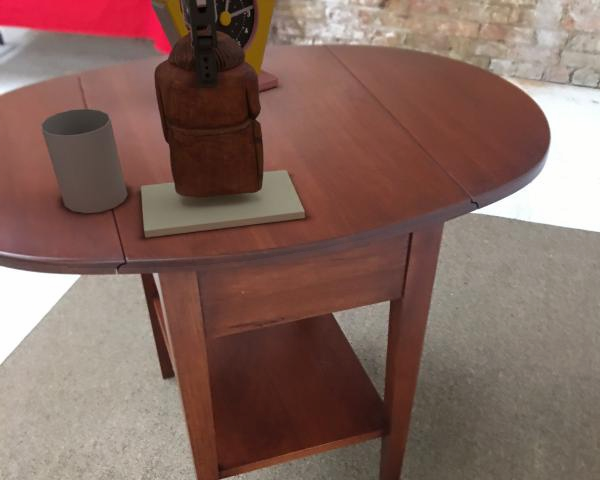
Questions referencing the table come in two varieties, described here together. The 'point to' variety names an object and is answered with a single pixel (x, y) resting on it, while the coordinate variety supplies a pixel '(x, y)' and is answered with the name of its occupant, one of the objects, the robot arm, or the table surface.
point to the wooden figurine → (211, 121)
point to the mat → (219, 207)
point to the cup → (85, 159)
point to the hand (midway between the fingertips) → (205, 76)
